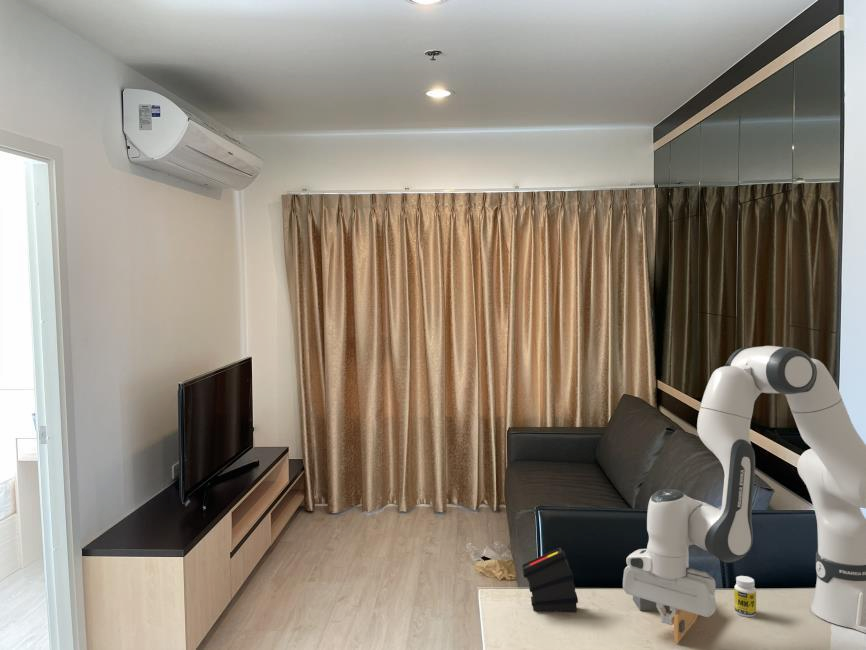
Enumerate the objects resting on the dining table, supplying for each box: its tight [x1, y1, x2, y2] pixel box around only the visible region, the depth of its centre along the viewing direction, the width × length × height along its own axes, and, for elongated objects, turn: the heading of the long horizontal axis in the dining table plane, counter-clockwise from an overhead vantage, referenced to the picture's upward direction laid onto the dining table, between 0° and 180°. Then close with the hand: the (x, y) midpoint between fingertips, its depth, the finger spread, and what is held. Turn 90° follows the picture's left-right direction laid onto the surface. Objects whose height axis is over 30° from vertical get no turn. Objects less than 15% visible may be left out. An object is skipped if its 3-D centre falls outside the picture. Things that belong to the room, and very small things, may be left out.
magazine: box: [521, 547, 579, 613], centre depth 161 cm, size 4×13×15 cm, turn 84°
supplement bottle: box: [733, 575, 757, 618], centre depth 157 cm, size 5×5×8 cm
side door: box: [673, 609, 699, 644], centre depth 151 cm, size 20×1×6 cm, turn 142°
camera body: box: [632, 595, 670, 612], centre depth 162 cm, size 14×6×8 cm, turn 90°
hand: (667, 623), depth 147 cm, fingers closed
